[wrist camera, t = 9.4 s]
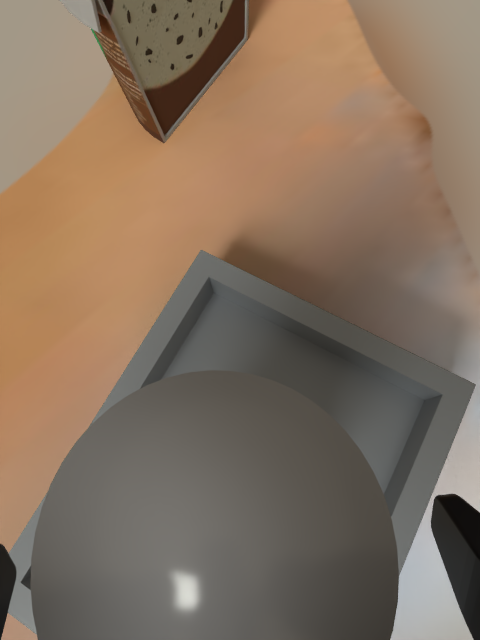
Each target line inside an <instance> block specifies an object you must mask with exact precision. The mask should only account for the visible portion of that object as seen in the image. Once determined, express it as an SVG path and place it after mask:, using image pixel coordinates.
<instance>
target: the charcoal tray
mask: <svg viewBox="0 0 480 640" xmlns="http://www.w3.org/2000/svg"><path fill="white" fill-rule="evenodd" d="M206 370H220V371H235V372H242V373H248V374H253V375H257V376H260V377H263V378H267V379H270V380H273V381H275V382H278V383H280V384H282V385H285V386H287V387H289V388H292V389H293V390H295V391H297V392H298V393H300V394H302V395H303V396H305V397H307V398H308V399H310V400H312V401H313V402H314V403H315V404H317V405H318V406H319V407H321V408H322V409H323V410H324V411H326V412H327V413H328V414H329V415H330V416H331V417H332V418H333V419H334V420H335V421H336V422H337V423H338V424H339V425H340V426H341V427H342V428H343V429H344V430H345V431H346V432H347V433H348V434H349V436H350V437H351V438H352V440H353V441H354V442H355V443H356V445H357V446H358V447H359V449H360V450H361V452H362V453H363V455H364V456H365V458H366V460H367V461H368V463H369V465H370V466H371V468H372V470H373V472H374V474H375V476H376V478H377V480H378V483H379V485H380V487H381V489H382V491H383V494H384V496H385V500H386V503H387V506H388V509H389V512H390V515H391V519H392V523H393V528H394V534H395V539H396V544H397V554H398V568H399V575H400V572H401V570H402V567H403V565H404V562H405V560H406V557H407V555H408V552H409V550H410V547H411V545H412V542H413V540H414V537H415V535H416V532H417V530H418V527H419V525H420V522H421V520H422V518H423V515H424V513H425V510H426V508H427V505H428V503H429V500H430V498H431V495H432V493H433V490H434V488H435V485H436V483H437V480H438V478H439V475H440V473H441V470H442V468H443V465H444V463H445V460H446V458H447V455H448V453H449V450H450V448H451V445H452V443H453V441H454V438H455V436H456V433H457V431H458V428H459V426H460V423H461V421H462V418H463V416H464V413H465V411H466V408H467V406H468V403H469V401H470V398H471V396H472V393H473V391H474V388H475V386H476V384H474V383H472V382H470V381H468V380H466V379H464V378H461V377H459V376H457V375H455V374H453V373H451V372H449V371H447V370H445V369H443V368H441V367H439V366H437V365H435V364H433V363H431V362H429V361H427V360H425V359H423V358H421V357H419V356H417V355H415V354H413V353H411V352H408V351H406V350H404V349H402V348H400V347H398V346H396V345H394V344H392V343H390V342H388V341H386V340H384V339H382V338H380V337H378V336H376V335H374V334H372V333H370V332H368V331H366V330H364V329H362V328H360V327H358V326H355V325H353V324H351V323H349V322H347V321H345V320H343V319H341V318H339V317H337V316H335V315H333V314H331V313H329V312H327V311H325V310H323V309H321V308H319V307H317V306H315V305H313V304H311V303H309V302H307V301H305V300H302V299H300V298H298V297H296V296H294V295H292V294H290V293H288V292H286V291H284V290H282V289H280V288H278V287H276V286H274V285H272V284H270V283H268V282H266V281H264V280H262V279H260V278H258V277H256V276H254V275H251V274H249V273H247V272H245V271H243V270H241V269H239V268H237V267H235V266H233V265H231V264H229V263H227V262H225V261H223V260H221V259H219V258H217V257H215V256H213V255H211V254H209V253H207V252H205V251H203V250H201V251H200V252H199V254H198V255H197V257H196V259H195V260H194V262H193V263H192V265H191V266H190V268H189V270H188V271H187V273H186V274H185V276H184V278H183V279H182V281H181V282H180V284H179V285H178V287H177V289H176V290H175V292H174V293H173V295H172V296H171V298H170V300H169V301H168V303H167V304H166V306H165V308H164V309H163V311H162V312H161V314H160V315H159V317H158V319H157V320H156V322H155V323H154V325H153V326H152V328H151V330H150V331H149V333H148V334H147V336H146V338H145V339H144V341H143V342H142V344H141V345H140V347H139V349H138V350H137V352H136V353H135V355H134V356H133V358H132V360H131V361H130V363H129V364H128V366H127V368H126V369H125V371H124V372H123V374H122V375H121V377H120V379H119V380H118V382H117V383H116V385H115V386H114V388H113V390H112V391H111V393H110V394H109V396H108V398H107V399H106V401H105V402H104V404H103V405H102V407H101V409H100V410H99V412H98V413H97V415H96V417H95V418H94V420H93V421H92V423H91V424H93V423H94V422H95V421H96V420H97V419H98V418H99V417H100V416H101V415H102V414H104V413H105V412H106V411H107V410H108V409H109V408H111V407H112V406H113V405H115V404H116V403H118V402H119V401H120V400H122V399H123V398H125V397H126V396H128V395H130V394H131V393H133V392H135V391H137V390H139V389H141V388H143V387H144V386H146V385H149V384H152V383H154V382H157V381H159V380H162V379H165V378H167V377H172V376H176V375H180V374H184V373H189V372H198V371H206ZM91 424H90V426H91ZM90 426H89V427H90ZM47 493H48V492H47ZM46 495H47V494H46ZM46 495H45V497H44V499H43V500H42V502H41V503H40V505H39V507H38V508H37V510H36V511H35V513H34V514H33V516H32V518H31V519H30V521H29V522H28V524H27V525H26V527H25V529H24V530H23V532H22V533H21V535H20V537H19V538H18V540H17V541H16V543H15V544H14V546H13V548H12V549H11V551H10V552H9V555H10V557H11V559H12V561H13V562H14V564H15V566H16V571H17V575H16V581H15V585H14V589H13V593H12V597H11V601H10V605H9V609H8V613H9V614H10V615H12V616H13V617H14V618H16V619H17V620H18V621H20V622H21V623H22V624H23V625H25V626H26V627H27V628H29V629H30V630H31V631H33V632H34V633H35V634H37V632H36V627H35V622H34V617H33V611H32V599H31V586H30V582H31V557H32V550H33V544H34V537H35V531H36V527H37V524H38V520H39V516H40V512H41V509H42V506H43V503H44V501H45V498H46Z"/></svg>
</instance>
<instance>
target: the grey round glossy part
mask: <svg viewBox="0 0 480 640" xmlns="http://www.w3.org/2000/svg"><path fill="white" fill-rule="evenodd" d="M398 582H399V568H398V554H397V544H396V539H395V534H394V528H393V523H392V519H391V515H390V512H389V509H388V506H387V503H386V500H385V496H384V494H383V491H382V489H381V487H380V485H379V483H378V480H377V478H376V476H375V474H374V472H373V470H372V468H371V466H370V465H369V463H368V461H367V460H366V458H365V456H364V455H363V453H362V452H361V450H360V449H359V447H358V446H357V445H356V443H355V442H354V441H353V440H352V438H351V437H350V436H349V434H348V433H347V432H346V431H345V430H344V429H343V428H342V427H341V426H340V425H339V424H338V423H337V422H336V421H335V420H334V419H333V418H332V417H331V416H330V415H329V414H328V413H327V412H326V411H324V410H323V409H322V408H321V407H319V406H318V405H317V404H315V403H314V402H313V401H312V400H310V399H308V398H307V397H305V396H303V395H302V394H300V393H298V392H297V391H295V390H293V389H292V388H289V387H287V386H285V385H282V384H280V383H278V382H275V381H273V380H270V379H267V378H263V377H260V376H257V375H253V374H248V373H242V372H235V371H220V370H206V371H198V372H189V373H184V374H180V375H176V376H172V377H167V378H165V379H162V380H159V381H157V382H154V383H152V384H149V385H146V386H144V387H143V388H141V389H139V390H137V391H135V392H133V393H131V394H130V395H128V396H126V397H125V398H123V399H122V400H120V401H119V402H118V403H116V404H115V405H113V406H112V407H111V408H109V409H108V410H107V411H106V412H105V413H104V414H102V415H101V416H100V417H99V418H98V419H97V420H96V421H95V422H94V423H93V424H91V426H90V427H89V428H88V429H87V430H86V431H85V432H84V434H83V435H82V436H81V437H80V438H79V439H78V441H77V442H76V443H75V445H74V446H73V447H72V449H71V450H70V452H69V453H68V455H67V456H66V458H65V459H64V461H63V462H62V464H61V466H60V468H59V470H58V472H57V473H56V475H55V477H54V479H53V481H52V483H51V485H50V488H49V490H48V493H47V495H46V498H45V501H44V503H43V506H42V509H41V512H40V516H39V520H38V524H37V527H36V531H35V537H34V544H33V550H32V557H31V582H30V586H31V599H32V611H33V617H34V622H35V627H36V632H37V637H38V640H390V638H391V634H392V631H393V626H394V620H395V614H396V608H397V602H398Z"/></svg>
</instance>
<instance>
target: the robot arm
mask: <svg viewBox="0 0 480 640" xmlns="http://www.w3.org/2000/svg"><path fill="white" fill-rule="evenodd" d="M431 528H432V532H433V535H434V538H435V541H436V544H437V546H438V549H439V552H440V555H441V557H442V560H443V563H444V566H445V569H446V571H447V574H448V577H449V580H450V582H451V585H452V588H453V591H454V593H455V596H456V599H457V602H458V604H459V607H460V610H461V612H462V615H463V617H464V619H465V622H466V624H467V626H468V628H469V630H470V633H471V635H472V637H473V639H474V640H480V513H479V512H478V511H477V510H476V509H475V508H473V507H472V506H471V505H470V504H468V503H467V502H466V501H465V500H464V499H462V498H461V497H460V496H458V495H456V494H446V495H438V496H436V497H435V499H434V504H433V511H432V518H431ZM16 575H17V571H16V566H15V564H14V562H13V561H12V559H11V557H10V555H9V554H8V552H7V550H6V549H5V547H4V546H3V545H2V544H0V640H1V637H2V633H3V629H4V625H5V621H6V617H7V613H8V609H9V605H10V601H11V597H12V593H13V589H14V585H15V581H16Z"/></svg>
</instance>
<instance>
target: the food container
mask: <svg viewBox="0 0 480 640" xmlns="http://www.w3.org/2000/svg"><path fill="white" fill-rule="evenodd" d="M60 1H61V3H62V4H63V5H64V6H65V7H66V9H67V10H68V11H69V12H70V13H71V14H72V15H73V16H75V17H76V18H77V19H78V20H79V21H80V22H82V23H83V24H84V25H86V26H88V27H89V28H91V30H92V32H93V33H94V36H95V38H96V39H97V42H98V43H99V45H100V47H101V49H102V51H103V53H104V55H105V57H106V59H107V61H108V63H109V65H110V67H111V69H112V71H113V73H114V75H115V77H116V78H117V80H118V82H119V84H120V86H121V88H122V90H123V92H124V94H125V96H126V98H127V100H128V102H129V104H130V106H131V108H132V110H133V111H134V113H135V115H136V117H137V119H138V121H139V122H140V124H141V125H142V126H143V127H144V128H145V130H146V131H148V132H149V133H150V134H151V135H152V136H153V137H155V138H157V139H158V140H160V141H161V142H163V143H165V142H166V141H167V139H168V138H169V137H170V136H171V134H172V133H173V132H174V131H175V129H176V128H177V127H178V126H179V124H180V123H181V122H182V121H183V119H184V118H185V117H186V116H187V114H188V113H189V112H190V111H191V110H192V108H193V107H194V106H195V105H196V103H197V102H198V101H199V100H200V98H201V97H202V96H203V95H204V93H205V92H206V91H207V90H208V88H209V87H210V86H211V85H212V83H213V82H214V81H215V80H216V79H217V77H218V76H219V75H220V74H221V72H222V71H223V70H224V69H225V67H226V66H227V65H228V64H229V62H230V61H231V60H232V59H233V57H234V56H235V55H236V54H237V52H238V51H239V50H240V49H241V48H242V46H243V45H244V44H245V43H246V41H247V40H248V14H249V0H60Z"/></svg>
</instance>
